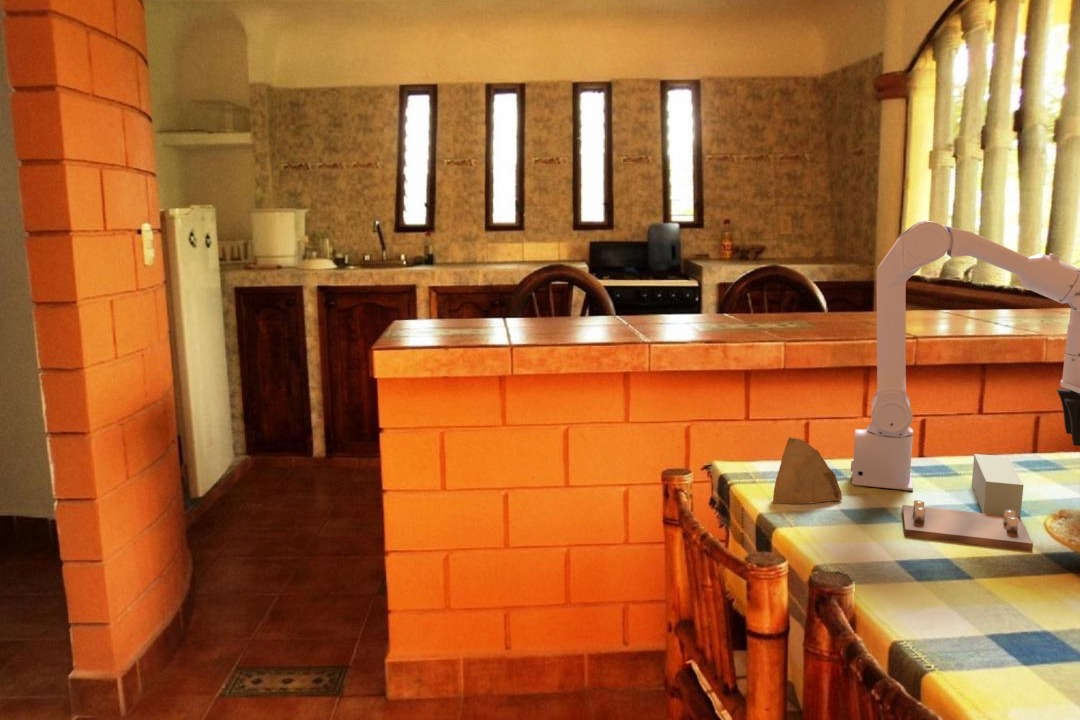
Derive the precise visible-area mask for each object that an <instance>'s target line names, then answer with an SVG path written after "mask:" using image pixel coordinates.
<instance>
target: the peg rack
mask: <svg viewBox="0 0 1080 720" xmlns="http://www.w3.org/2000/svg"><path fill="white" fill-rule="evenodd" d="M901 509H902V510H901V511H902V521H903V530H904V537H913V538H920V539H928V540H929V539H930V540H940V541H947V542H956V543H963V544H971V545H972V544H973V545H982V546H989V547H990V546H991V547H999V548H1005V549H1006V548H1007V549H1016V550H1017V549H1018V550H1026V551H1033V548H1034V547H1033V546H1034V544H1033V541H1032V539H1031V537H1030V534H1029V533H1028V531H1027V529H1026V527H1025V524H1024V523H1023V521H1022V518H1021V517H1015V511H1013V510H1004V515H996V514H986V513H982V512H973V511H967V510H966V511H965V510H958V509H957V510H956V509H948V508H946V509H945V508H936V507H927V506H925V501H923V500H920V499H919V500H917V499H916V500H914V501H913V505H906V504H902V508H901Z"/></svg>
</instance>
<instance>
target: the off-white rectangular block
mask: <svg viewBox="0 0 1080 720" xmlns="http://www.w3.org/2000/svg"><path fill="white" fill-rule="evenodd" d="M971 486H972V488H974V489H973V491H974V494H975V496H977V497H976V499H977V502H978V504H979V506H980V509H981V513H986V514H996V515H1004V510H1013V511H1015V517H1020V518H1021V516H1022V505H1023V495H1024V494H1023V493H1024V483H1023V482H1022V480H1021V478H1020V476H1019V475H1018V473H1017V471H1016V469H1015V467H1014V465H1013V464H1012V461H1011V460H1010V459H1009V457H1008V456H1004V455H1003V456H1001V455H991V454H979V453H974V454H973V466H972V478H971Z"/></svg>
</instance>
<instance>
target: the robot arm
mask: <svg viewBox="0 0 1080 720" xmlns="http://www.w3.org/2000/svg"><path fill="white" fill-rule="evenodd" d="M945 255H947V256H948V257H951V258H957V257H972V258H975V259H977V260H979V261H981V262H985V263H987V264H990V265H992V266H994V267H997V268H999V269H1002V270H1005V271H1007V272H1010V273H1012V274H1015V275H1016V276H1017V278H1018V279H1019V283H1020V285H1021V287H1022V288H1024V289H1027V290H1029V291H1032V292H1033V293H1037V294H1038V295H1040V296H1043V297H1046V298H1048V299H1050V300H1053V301H1054V302H1057V303H1059V304H1061V305H1062V304H1068V305H1069V306H1070V307H1071V308H1070V310H1069V311H1070V312H1069V322H1068V323H1067V330H1066V341H1065V352H1064V361H1063V368H1062V369H1063V371H1062V378H1061V380H1060V383H1059V385H1060V387H1062V388H1057V389H1056V391H1057V394H1058V396H1059V399H1060V401H1061V406H1062V411H1063V419H1064V428H1065V433H1066V434H1067V435H1071V441H1072V445H1073V446H1076V447H1077V446H1078V447H1080V268H1079V267H1077V266H1076V267H1075V266H1073V265H1071V264H1068V263H1067V262H1064V261H1061V260H1060V258H1061V256H1060V255H1058V254H1055V253H1049V254H1048V255H1047V254H1045V253H1037V254H1035V255H1032V256H1025V255H1024V254H1022V253H1019V252H1017V251H1014V250H1012V249H1011V248H1008V247H1005V246H1004V245H1001V244H999V243H997V242H995V241H992V240H990V239H988V238H987V237H983V236H982V235H979V234H977V233H975V232H972V231H969V230H964V229H962V228H961V229H960V228H956V227H952V226H948V225H944V226H943V224H940V223H938V222H936V221H930V220H923V221H922V220H921V221H918V222H916V223H915V224H913V225H912V226H910V227H909V228H907V229H906V230H904V232H902V233H900V234H899V236H898V237H897V239H896V241H895V242H894V244H892V247H891V248H890V249H889V250H888V252H887V253H886V255H885V256H884V257H883V259H882V260H881V262H880V263H879V264H878V267H877V268H876V364H877V365H876V368H877V369H876V384H877V385H876V391H875V394H874V396H873V398H872V399H871V404H870V405H871V413H870V416H871V417H870V418H871V422H870V423H869V424H868V425H866V426H867V427H866V428H864V429H860V428H857V429H856V428H855V429H854V443H853V444H854V445H853V460H851V461H850V472H852V477H851V478H852V480H851V484H852V485H853V486H863V487H872V488H881V489H882V488H883V489H892V490H893V489H894V490H904V491H913V490H914V484H913V478H912V475H911V471H912V470H911V467H912V456H913V455H912V453H913V441H914V440H913V439H914V430H913V428H912V427H911V425H912V423H913V419H914V418H913V417H914V416H913V411H912V409H911V407H912V405H911V401H910V398H909V395H908V394H907V376H906V375H907V373H906V371H907V368H906V366H907V363H906V361H907V358H906V357H907V355H906V353H907V352H906V351H907V349H906V347H907V342H906V341H907V337H906V336H907V334H906V332H907V329H906V328H907V327H906V325H907V321H906V319H907V318H906V316H907V315H906V314H907V313H906V312H907V310H906V309H907V308H906V307H907V306H906V302H907V301H906V298H907V297H906V296H907V294H906V291H907V290H906V289H907V287H906V286H907V284H906V283H907V281H908V280H909V279H910V278H911V277H912V276H914V275H916V273H917V272H919V270H921V269H922V268H923V267H925V266H927V265H930V264H931V263H934V262H936V261H938V260H939V259H941V258H944V256H945Z"/></svg>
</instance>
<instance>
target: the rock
mask: <svg viewBox="0 0 1080 720" xmlns="http://www.w3.org/2000/svg"><path fill="white" fill-rule="evenodd" d="M780 461H781V462H780V465H779V469H778V472H777V476H776V479H775V482H774V489H773V496H772V504H774V505H777V504H790V505H802V504H803V505H805V504H815V503H816V504H817V503H825V502H835V501H836V502H837V501H843V497H842V490H841V488H840V485H839V483H838V479H837V476H836V474H835V473H834V471H833V470H832V469H831V468H830V467H829V466H828V464H827V462H826V461H825V459H824V458H823V456H822V455H821V454H820V452H819V450H817V449H816V448H815V447H813V446H812V445H811V444H809V443H807V441H805V440H804V439H800V438H797V437H788V439H787V442H786V445H785V447H784V451H783V454H782V457H781V460H780Z"/></svg>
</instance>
